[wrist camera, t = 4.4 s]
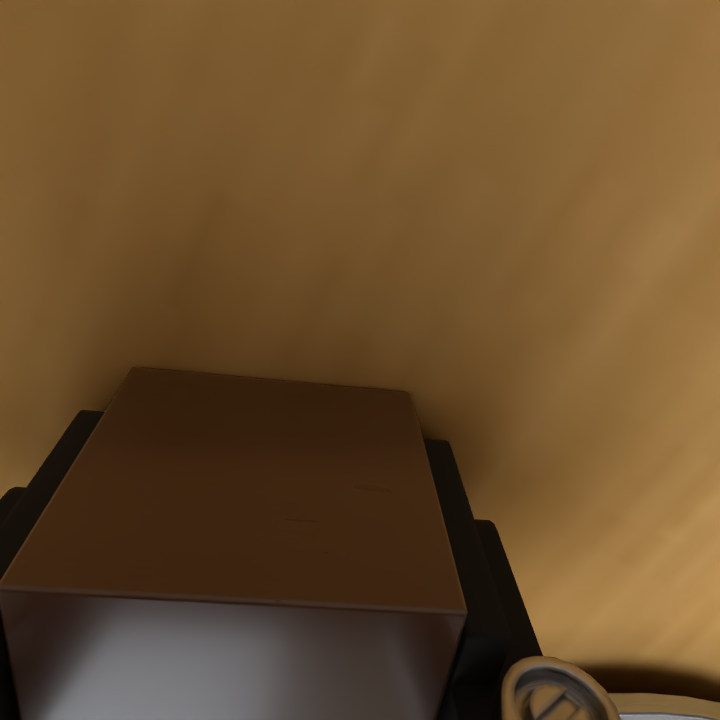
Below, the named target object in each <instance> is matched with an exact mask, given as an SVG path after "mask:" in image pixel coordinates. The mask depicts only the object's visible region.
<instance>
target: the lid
mask: <svg viewBox="0 0 720 720" xmlns="http://www.w3.org/2000/svg"><path fill="white" fill-rule="evenodd" d="M608 695H609V696H610V698H611V699H612V701H613V702H614V704H615V705H616V707H617V710H618V712H619V715H620V718H621V720H720V703H719V702H714V701H709V700H704V699H699V698H694V697H688V696H679V695H668V694H657V693H608Z"/></svg>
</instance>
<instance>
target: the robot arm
mask: <svg viewBox="0 0 720 720" xmlns="http://www.w3.org/2000/svg"><path fill="white" fill-rule="evenodd" d="M103 414H104V412H101V411H89V410H81V411H80V412H79V413H78V414H77V415H76V417H75V418H74V420H73V421H72V423H71V424H70V426H69V427H68V428H67V430H66V431H65V433H64V434H63V436H62V437H61V439H60V440H59V441H58V443H57V444H56V446H55V447H54V449H53V450H52V452H51V453H50V454H49V456H48V457H47V459H46V460H45V462H44V463H43V465H42V466H41V467H40V469H39V470H38V472H37V473H36V475H35V476H34V478H33V479H32V480H31V482H30V483H29V485H28V486H27V488H25V487H14V488H12V489H9V491H8V492H7V493H6V494H5V495H4V496H3V497H2V498H1V500H0V580H1V579H2V577H3V576H4V574H5V572H6V571H7V569H8V568H9V566H10V564H11V563H12V561H13V559H14V558H15V556H16V555H17V553H18V551H19V550H20V548H21V547H22V545H23V543H24V542H25V540H26V538H27V537H28V535H29V534H30V532H31V530H32V529H33V527H34V526H35V524H36V522H37V521H38V519H39V517H40V516H41V514H42V513H43V511H44V509H45V508H46V506H47V504H48V503H49V501H50V500H51V498H52V496H53V495H54V493H55V492H56V490H57V488H58V487H59V485H60V483H61V482H62V480H63V479H64V477H65V475H66V474H67V472H68V471H69V469H70V467H71V466H72V464H73V462H74V461H75V459H76V458H77V456H78V454H79V453H80V451H81V450H82V448H83V446H84V445H85V443H86V441H87V440H88V438H89V437H90V435H91V433H92V432H93V430H94V429H95V427H96V425H97V424H98V422H99V420H100V419H101V417H102V416H103ZM423 442H424V445H425V449H426V453H427V457H428V461H429V465H430V469H431V473H432V476H433V480H434V484H435V488H436V492H437V496H438V500H439V503H440V507H441V511H442V515H443V519H444V523H445V527H446V531H447V534H448V538H449V542H450V546H451V550H452V554H453V558H454V561H455V565H456V569H457V573H458V577H459V581H460V585H461V589H462V592H463V596H464V600H465V604H466V608H467V612H468V613H467V617H466V620H465V624H464V627H463V631H462V634H461V637H460V641H459V644H458V647H457V651H456V654H455V658H454V661H453V664H452V668H451V671H450V675H449V678H448V681H447V685H446V688H445V692H444V695H443V698H442V702H441V705H440V708H439V712H438V715H437V719H436V720H621V718H620V715H619V712H618V710H617V707H616V705H615V704H614V702H613V701H612V699H611V698H610V696H609V695H608V693H607V692H606V691H605V689H604V688H603V687H602V686H601V685H600V684H599V683H598V682H597V681H595V680H594V679H593V678H592V677H591V676H590V675H589V674H587V673H586V672H584V671H583V670H581V669H580V668H578V667H576V666H575V665H573V664H571V663H568V662H566V661H563V660H560V659H557V658H555V657H546V656H543V655H542V652H541V649H540V647H539V644H538V641H537V638H536V636H535V633H534V630H533V627H532V625H531V622H530V619H529V616H528V614H527V611H526V608H525V605H524V603H523V600H522V597H521V595H520V592H519V589H518V586H517V584H516V581H515V578H514V575H513V573H512V570H511V567H510V564H509V562H508V559H507V556H506V553H505V551H504V548H503V545H502V542H501V540H500V537H499V534H498V531H497V529H496V527H495V525H494V523H492V522H491V521H490V520H477V519H474V517H473V514H472V511H471V507H470V504H469V501H468V498H467V495H466V492H465V489H464V486H463V483H462V480H461V477H460V474H459V470H458V467H457V464H456V461H455V458H454V455H453V452H452V449H451V446H450V443H449V442H448V441H444V440H432V439H423ZM0 720H19V716H18V710H17V705H16V699H15V693H14V687H13V681H12V676H11V670H10V664H9V658H8V652H7V647H6V641H5V635H4V629H3V623H2V618H1V612H0Z"/></svg>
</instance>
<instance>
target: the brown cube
mask: <svg viewBox="0 0 720 720" xmlns="http://www.w3.org/2000/svg"><path fill="white" fill-rule="evenodd" d="M0 612H1V618H2V623H3V629H4V635H5V641H6V647H7V652H8V658H9V664H10V670H11V676H12V681H13V687H14V693H15V699H16V705H17V710H18V716H19V720H436V719H437V715H438V712H439V708H440V705H441V702H442V698H443V695H444V692H445V688H446V685H447V681H448V678H449V675H450V671H451V668H452V664H453V661H454V658H455V654H456V651H457V647H458V644H459V641H460V637H461V634H462V631H463V627H464V624H465V620H466V617H467V613H468V612H467V608H466V604H465V600H464V596H463V592H462V589H461V585H460V581H459V577H458V573H457V569H456V565H455V561H454V558H453V554H452V550H451V546H450V542H449V538H448V534H447V531H446V527H445V523H444V519H443V515H442V511H441V507H440V503H439V500H438V496H437V492H436V488H435V484H434V480H433V476H432V473H431V469H430V465H429V461H428V457H427V453H426V449H425V445H424V442H423V438H422V434H421V430H420V426H419V422H418V418H417V415H416V411H415V407H414V403H413V399H412V395H411V393H409V392H399V391H388V390H377V389H366V388H356V387H345V386H334V385H323V384H312V383H301V382H291V381H280V380H269V379H258V378H247V377H237V376H226V375H215V374H204V373H193V372H182V371H172V370H161V369H150V368H139V367H134V368H132V369H131V370H130V372H129V374H128V375H127V377H126V378H125V380H124V382H123V383H122V385H121V387H120V388H119V390H118V391H117V393H116V395H115V396H114V398H113V399H112V401H111V403H110V404H109V406H108V408H107V409H106V411H105V412H104V414H103V416H102V417H101V419H100V420H99V422H98V424H97V425H96V427H95V429H94V430H93V432H92V433H91V435H90V437H89V438H88V440H87V441H86V443H85V445H84V446H83V448H82V450H81V451H80V453H79V454H78V456H77V458H76V459H75V461H74V462H73V464H72V466H71V467H70V469H69V471H68V472H67V474H66V475H65V477H64V479H63V480H62V482H61V483H60V485H59V487H58V488H57V490H56V492H55V493H54V495H53V496H52V498H51V500H50V501H49V503H48V504H47V506H46V508H45V509H44V511H43V513H42V514H41V516H40V517H39V519H38V521H37V522H36V524H35V526H34V527H33V529H32V530H31V532H30V534H29V535H28V537H27V538H26V540H25V542H24V543H23V545H22V547H21V548H20V550H19V551H18V553H17V555H16V556H15V558H14V559H13V561H12V563H11V564H10V566H9V568H8V569H7V571H6V572H5V574H4V576H3V577H2V579H1V580H0Z"/></svg>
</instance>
